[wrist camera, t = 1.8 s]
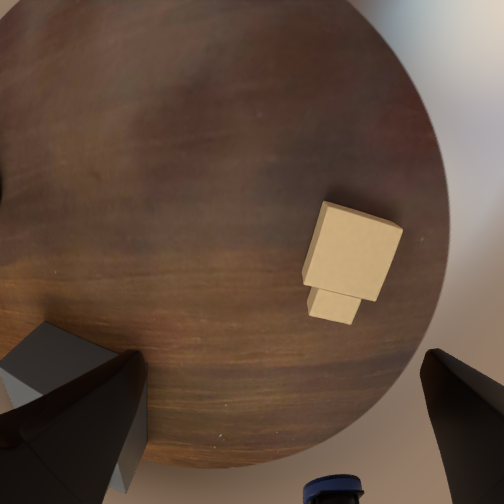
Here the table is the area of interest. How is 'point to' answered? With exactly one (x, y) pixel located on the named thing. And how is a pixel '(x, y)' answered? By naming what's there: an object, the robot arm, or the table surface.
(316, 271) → the cream pad
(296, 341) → the table surface
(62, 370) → the block
